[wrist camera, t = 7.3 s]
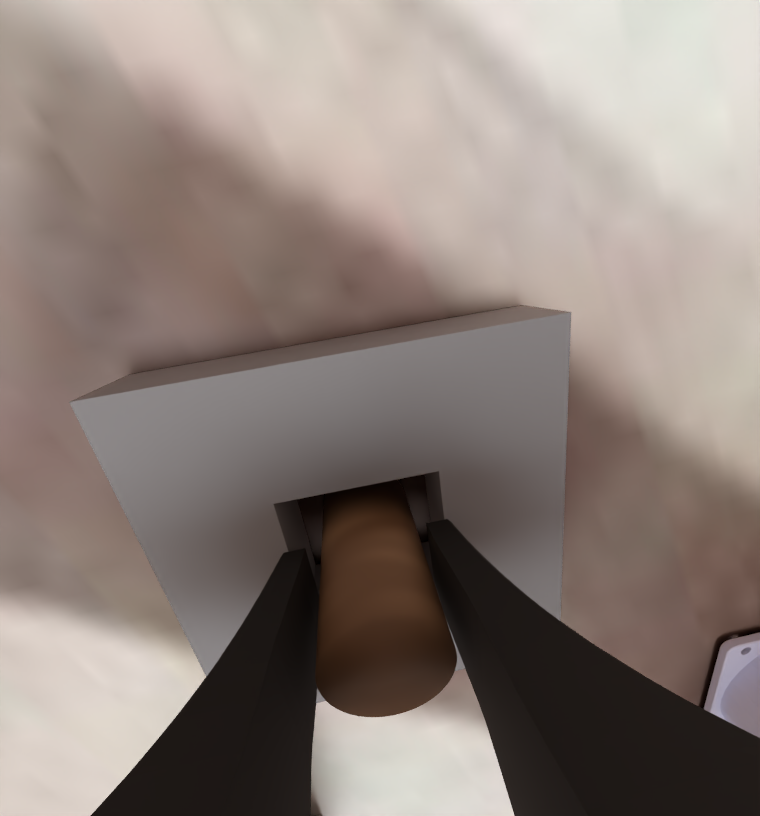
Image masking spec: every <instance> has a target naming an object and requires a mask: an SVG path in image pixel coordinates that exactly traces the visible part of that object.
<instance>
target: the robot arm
mask: <svg viewBox="0 0 760 816" xmlns="http://www.w3.org/2000/svg"><path fill="white" fill-rule="evenodd" d="M426 524H427V532H428V539H429V546H430V554H431V561H432V569H433V576H434V580H435V584H436V588H437V591H438V595H439V598H440V602H441V605H442V608H443V611H444V614H445V617H446V620H447V623H448V625H449V628H450V630H451V633H452V636H453V638H454V641H455V643H456V646H457V648H458V651H459V653H460V656H461V658H462V661H463V663H464V666H465V669H466V671H467V674H468V676H469V679H470V681H471V684H472V686H473V689H474V691H475V694H476V696H477V699H478V701H479V704H480V707H481V710H482V713H483V715H484V718H485V721H486V724H487V727H488V730H489V733H490V737H491V740H492V743H493V746H494V750H495V753H496V756H497V759H498V762H499V766H500V769H501V772H502V775H503V779H504V782H505V785H506V788H507V792H508V795H509V798H510V802H511V805H512V808H513V812H514V815H515V816H760V632H759V633H755V634H751V635H746V636H742V637H738V638H733V639H730V640H727V641H725V642H724V643H723V644H722V645H721V646H720V649H719V653H718V657H717V661H716V664H715V668H714V672H713V675H712V679H711V683H710V687H709V690H708V694H707V698H706V702H705V705H704V709H702V708H700V707H698V706H696V705H694V704H693V703H691V702H689V701H687V700H685V699H683V698H682V697H680V696H678V695H676V694H675V693H673V692H671V691H669V690H668V689H666V688H664V687H662V686H661V685H659V684H657V683H655V682H654V681H652V680H650V679H648V678H647V677H645V676H643V675H642V674H640V673H639V672H637V671H635V670H634V669H632V668H631V667H629V666H627V665H626V664H624V663H623V662H621V661H619V660H618V659H616V658H615V657H613V656H611V655H610V654H608V653H607V652H605V651H603V650H602V649H600V648H599V647H597V646H595V645H594V644H592V643H591V642H589V641H588V640H587V639H585V638H584V637H582V636H581V635H579V634H578V633H576V632H575V631H574V630H572V629H571V628H569V627H568V626H566V625H565V624H564V623H562V622H561V621H560V620H558V619H557V618H556V617H554V616H553V615H552V614H550V613H549V612H547V611H546V610H545V609H544V608H542V607H541V606H540V605H538V604H537V603H536V602H535V601H533V600H532V599H531V598H530V597H529V596H527V595H526V594H525V593H524V592H523V591H521V590H520V589H519V588H518V587H517V586H515V585H514V584H513V583H512V582H511V581H510V580H509V579H507V578H506V577H505V576H504V575H503V574H502V573H501V572H500V571H499V570H498V569H496V568H495V567H494V566H493V565H492V564H491V563H490V562H489V561H488V560H487V559H486V558H485V557H484V556H483V555H482V554H481V553H480V552H479V551H478V550H477V549H476V548H475V547H474V546H473V545H472V544H471V543H470V542H469V541H468V540H467V539H466V538H465V537H464V536H463V535H462V534H461V532H460V531H459V530H458V529H457V528H456V527H455V526H454V524H453V523H452V522H451V521H450V520H448V519H444V520H439V521H435V522H430V523H426ZM318 610H319V593H318V590H317V587H316V583H315V580H314V576H313V573H312V569H311V566H310V563H309V559H308V556H307V552H306V549H305V548H304V549H299V550H294V551H289V552H285V553H283V554H282V556H281V557H280V559H279V561H278V563H277V564H276V566H275V568H274V570H273V572H272V574H271V575H270V577H269V579H268V581H267V583H266V584H265V586H264V588H263V590H262V591H261V593H260V595H259V597H258V598H257V600H256V602H255V603H254V605H253V607H252V608H251V610H250V611H249V613H248V615H247V616H246V618H245V620H244V621H243V623H242V625H241V626H240V628H239V629H238V631H237V632H236V634H235V635H234V637H233V639H232V640H231V642H230V643H229V645H228V646H227V648H226V649H225V651H224V652H223V654H222V655H221V657H220V658H219V660H218V661H217V663H216V664H215V665H214V667H213V668H212V670H211V671H210V672H209V674H208V675H207V677H206V678H205V679H204V681H203V682H202V684H201V685H200V686H199V688H198V689H197V690H196V692H195V693H194V694H193V696H192V697H191V698H190V700H189V701H188V702H187V704H186V705H185V706H184V707H183V709H182V710H181V711H180V713H179V714H178V715H177V716H176V718H175V719H174V720H173V721H172V723H171V724H170V725H169V726H168V727H167V729H166V730H165V731H164V732H163V734H162V735H161V736H160V737H159V739H158V740H157V741H156V742H155V743H154V744H153V746H152V747H151V748H150V749H149V750H148V752H147V753H146V754H145V755H144V756H143V758H142V759H141V760H140V761H139V762H138V764H137V765H136V766H135V767H134V768H133V769H132V771H131V772H130V773H129V774H128V775H127V776H126V777H125V779H124V780H123V781H122V782H121V783H120V784H119V785H118V786H117V787H116V788H115V790H114V791H113V792H112V793H111V794H110V795H109V796H108V797H107V798H106V799H105V801H104V802H103V803H102V804H101V805H100V806H99V807H98V808H97V809H96V810H95V812H94V813H93V814H92V815H91V816H310V807H311V759H312V742H313V731H314V720H315V709H316V698H317V685H316V680H315V670H316V650H317V630H318Z"/></svg>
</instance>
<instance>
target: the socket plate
mask: <svg viewBox="0 0 760 816" xmlns="http://www.w3.org/2000/svg"><path fill="white" fill-rule="evenodd" d="M570 328H571V312H565V311H558V310H551V309H544V308H537V307H530V306H523V305H520V306H515V307H509V308H503V309H498V310H492V311H486V312H481V313H475V314H469V315H464V316H458V317H452V318H447V319H441V320H436V321H430V322H424V323H419V324H413V325H407V326H402V327H396V328H390V329H385V330H379V331H373V332H368V333H362V334H356V335H351V336H345V337H339V338H334V339H328V340H322V341H317V342H311V343H305V344H300V345H294V346H288V347H283V348H277V349H271V350H266V351H260V352H254V353H249V354H243V355H237V356H232V357H226V358H220V359H215V360H209V361H203V362H198V363H192V364H186V365H181V366H175V367H169V368H164V369H158V370H152V371H147V372H141V373H135V374H130V375H127V376H125V377H123V378H121V379H118V380H116V381H114V382H112V383H110V384H108V385H105V386H103V387H101V388H99V389H97V390H94V391H92V392H90V393H88V394H86V395H84V396H81V397H79V398H77V399H75V400H73V401H71V402H69V403H70V405H71V407H72V409H73V411H74V413H75V415H76V417H77V419H78V421H79V423H80V425H81V427H82V429H83V431H84V433H85V435H86V437H87V439H88V441H89V443H90V445H91V447H92V449H93V451H94V453H95V455H96V457H97V459H98V461H99V463H100V465H101V467H102V469H103V471H104V473H105V475H106V477H107V479H108V481H109V483H110V485H111V487H112V489H113V491H114V493H115V495H116V497H117V499H118V501H119V503H120V505H121V507H122V509H123V511H124V513H125V515H126V517H127V519H128V521H129V523H130V525H131V527H132V529H133V531H134V533H135V535H136V537H137V539H138V541H139V543H140V545H141V547H142V549H143V551H144V553H145V555H146V557H147V559H148V561H149V563H150V565H151V567H152V569H153V571H154V573H155V575H156V577H157V579H158V581H159V583H160V585H161V587H162V589H163V591H164V593H165V595H166V597H167V599H168V601H169V603H170V605H171V607H172V609H173V611H174V613H175V615H176V617H177V619H178V621H179V623H180V625H181V627H182V629H183V631H184V633H185V635H186V637H187V639H188V641H189V643H190V645H191V647H192V649H193V651H194V653H195V655H196V657H197V659H198V661H199V663H200V665H201V667H202V669H203V671H204V673H205V675H206V677H207V675H208V674H209V672H210V671H211V670H212V668H213V667H214V665H215V664H216V663H217V661H218V660H219V658H220V657H221V655H222V654H223V652H224V651H225V649H226V648H227V646H228V645H229V643H230V642H231V640H232V639H233V637H234V635H235V634H236V632H237V631H238V629H239V628H240V626H241V625H242V623H243V621H244V620H245V618H246V616H247V615H248V613H249V611H250V610H251V608H252V607H253V605H254V603H255V602H256V600H257V598H258V597H259V595H260V593H261V591H262V590H263V588H264V586H265V584H266V583H267V581H268V579H269V577H270V575H271V574H272V572H273V570H274V568H275V566H276V564H277V563H278V561H279V559H280V557H281V556H282V554H283V553H285V552H289V551H294V550H299V549H304V548H305V549H306V552H307V556H308V559H309V563H310V566H311V569H312V573H313V576H314V580H315V583H316V587H317V590H318V593H319V590H320V570H321V564H318V565H316V564H315V561H314V557H313V554H312V550H311V547H310V543H309V540H308V536H307V533H306V529H305V526H304V522H303V519H302V515H301V512H300V508H299V505H298V501H297V499H301V498H306V497H311V496H316V495H321V494H326V493H331V492H336V491H341V490H346V489H351V488H356V487H361V486H367V485H372V484H377V483H382V482H387V481H392V480H397V479H402V478H407V477H412V476H417V475H422V474H425V482H426V489H427V497H428V505H429V513H430V520H431V522H435V521H439V520H444V519H448V520H450V521H451V522H452V523H453V524H454V526H455V527H456V528H457V529H458V530H459V531H460V532H461V534H462V535H463V536H464V537H465V538H466V539H467V540H468V541H469V542H470V543H471V544H472V545H473V546H474V547H475V548H476V549H477V550H478V551H479V552H480V553H481V554H482V555H483V556H484V557H485V558H486V559H487V560H488V561H489V562H490V563H491V564H492V565H493V566H494V567H495V568H496V569H498V570H499V571H500V572H501V573H502V574H503V575H504V576H505V577H506V578H507V579H509V580H510V581H511V582H512V583H513V584H514V585H515V586H517V587H518V588H519V589H520V590H521V591H523V592H524V593H525V594H526V595H527V596H529V597H530V598H531V599H532V600H533V601H535V602H536V603H537V604H538V605H540V606H541V607H542V608H544V609H545V610H546V611H547V612H549V613H550V614H552V615H553V616H554V617H556V618H557V619H558V620H560V618H561V589H562V560H563V531H564V502H565V473H566V444H567V415H568V386H569V357H570ZM421 544H422V547H423V550H424V553H425V556H426V559H427V562H428V565H429V569H430V572H431V575H432V578H433V581H434V584H435V580H434V576H433V569H432V561H431V554H430V546H429V541H428V542H423V543H421ZM435 587H436V584H435ZM436 590H437V588H436ZM437 593H438V591H437ZM438 596H439V595H438ZM439 599H440V598H439ZM446 621H447V620H446ZM447 624H448V623H447ZM448 627H449V625H448ZM449 630H450V628H449ZM450 633H451V630H450ZM451 636H452V633H451ZM452 639H453V642H454V645H455V648H456V652H457V664H456V668H455V671H457V670H462V669H465V666H464V663H463V661H462V658H461V656H460V653H459V651H458V648H457V646H456V643H455V641H454V638H453V636H452ZM322 701H326V700H325V699H324V698H323V697H322V696H321V694H320V692H319V690H318V688H317V698H316V703H318V702H322Z"/></svg>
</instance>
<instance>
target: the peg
mask: <svg viewBox="0 0 760 816" xmlns="http://www.w3.org/2000/svg"><path fill="white" fill-rule="evenodd" d="M456 664H457V652H456V648H455V645H454V642H453V639H452V636H451V633H450V630H449V627H448V624H447V621H446V617H445V614H444V611H443V608H442V605H441V602H440V599H439V596H438V593H437V590H436V587H435V584H434V581H433V578H432V575H431V572H430V569H429V565H428V562H427V559H426V556H425V553H424V550H423V547H422V544H421V541H420V538H419V535H418V532H417V529H416V526H415V523H414V520H413V516H412V513H411V510H410V507H409V504H408V501H407V498H406V495H405V492H404V489H403V487H402V485H401V484H400V482H399V481H398V480H392V481H387V482H382V483H377V484H372V485H367V486H361V487H356V488H351V489H346V490H341V491H336V492H331V493H326V495H325V499H324V510H323V530H322V550H321V570H320V590H319V610H318V630H317V650H316V670H315V680H316V685H317V688H318V690H319V692H320V694H321V696H322V697H323V698H324V699H325V700H326V701H327V702H328V703H329V704H330V705H332V706H333V707H335V708H337V709H339V710H341V711H343V712H346V713H349V714H352V715H357V716H364V717H383V716H391V715H396V714H400V713H403V712H406V711H409V710H412V709H414V708H417V707H419V706H421V705H423V704H424V703H426V702H428V701H429V700H431V699H432V698H434V697H435V696H436V695H437V694H438V693H440V692H441V691H442V690H443V688H444V687H445V686H446V685H447V684H448V682H449V681H450V679H451V677H452V676H453V673H454V671H455V668H456Z"/></svg>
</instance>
